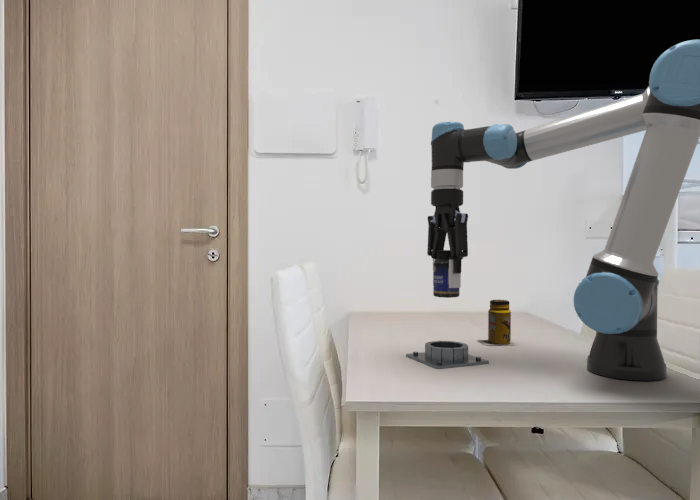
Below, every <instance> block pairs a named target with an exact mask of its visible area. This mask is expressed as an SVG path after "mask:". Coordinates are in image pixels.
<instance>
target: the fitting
mask: <svg viewBox="0 0 700 500" xmlns="http://www.w3.org/2000/svg"><path fill="white" fill-rule="evenodd" d="M405 356H406V358H409V359H412V360H413V361H417V362H420V363H422V364H424V365H426V366H429V367H431V368H434V369H437V370H439V369H440V370H441V369H448V368H458V367H469V366H479V365H487V364H490V361H489V360H487V359H484V358H482V357H480V356H475V355H471V354H469V345H468V344H467V343H464V342H460V341H451V340H432V341H431V340H430V341H428V342H425V343H424V351H423V352H418V351H413V352H412V353H406V354H405Z"/></svg>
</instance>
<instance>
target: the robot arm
mask: <svg viewBox="0 0 700 500" xmlns="http://www.w3.org/2000/svg"><path fill="white" fill-rule="evenodd" d="M648 80H649V81H648V86H647V88H646V89H645V90H644V92H643V93H641V94H637V95H634V96H631V97H628V98H624V99H622V100H618V101H615V102H612V103H608V104H604V105H601V106H597V107H595V108H592V109H589V110H586V111H583V112H579V113H576V114H572V115H570V116H567V117H562V118H560V119H557V120H554V121H550V122H546V123H544V124H541V125H538V126H534V127H532V128H528V129H525V130H522V131H521V130H520V131H517V132H516V131H515V130H514V127H513V126H512V125H511V124H507V123H506V124H492V125H487V126H481V127H475V128H468V129H464V127H465V126H464V124H463V123H461V122H459V121H443V122H438V123H436V124H434V125H433V126H432V130H431V141H430V146H431V149H430V150H431V170H430V172H431V173H430V175H431V176H430V187H431V188H432V189H433V190H431V192H430V204H431V206H432V207H435V209H434V214H433V215H428V216H427V223H428V224H427V225H428V227H427V228H428V231H427V233H428V234H427V250H426V251H427V256H430V257H431V259H432V286H433V287H434V262H435V261H436V260H437V259H438V256H437V250H445V244H446V239H447V241H448V246H449V250H450V252H451V257H449V259H453V260H449V288H459V289H460V288H461V286H462V285H461V282H462V281H461V280H462V278H461V277H462V275H461V273H462V260H463V258H465V257H468V255H469V248H468V245H469V243H468V219H469V213H463V212H461V210H460V207H461V206H463V204H464V190H463V189H462V188H463V187H464V164H465V163H472V162H473V163H475V162H487V163H491V164H495V165H498V166H501V167H503V168H506V169H510V170H511V169H512V170H513V169H520V168H523V167H524V166H526V164H527V163H530V162H532V161H536V160H540V159H544V158H547V157H548V158H549V157H551V156H555V155H558V154H559V155H560V154H562V153H567V152H571V151H574V150H577V149H581V148H585V147H589V146H593V145H596V144H599V143H604V142H607V141H611V140H615V139H619V138H622V137H626V136H630V135H634V134H637V133H640V132H645V133H644V135H643V138H642V141H641V143H640V147H639V149H638V153H637V156H636V158H635V161H634V164H633V166H632V170H631V173H630V176H629V178H628V180H627V184H626V186H625V190H624V193H623V195H622V197H621V198H622V199H621V201H620V205H619V206H618V208H617V209H618V210H617V213H616V214H615V215H616V216H615V219H614V221H613V224H612V226H611V227H612V228H611V230H610V233H609V234H608V235H609V236H608V239H607V241H606V244H605V247H604V249H603V250H602V251H600V252H598V253H595V254H593V256H592V258H591V261H590V264H589V267H588V269H587V271H586V272H587V273H586V275H585V277H583V279H582V280H581V281H580V282H579V283H578V285H577V286H576V289H575V290H574V293H573V307H574V308H573V309H574V310H575V314H576V315H577V317H578V319H579V320H580V321H581V322H582V323H583V324H584V325H585V326H586V327H587V328H589V329H591V330H593V331H595V337H594V339H593V342H592V344H591V347H590V351H589V355H587V359H586V369H587V370H588V371H589V372H591V373H593V374H596V375H600V376H602V377H608V378H613V379H620V380H625V381H642V382H643V381H647V382H648V381H659V380H663V379H664V380H665V379H666V378H667V376H668V375H667V370H668V369H667V364H666V362H665V359H664V355H663V353H662V349H661V347H660V343H659V341H658V286H659V283H660V282H659V281H660V280H659V278H658V277H659V275H660V274H659V272H658V271H657V269H656V267H655V265H654V261H655V259H656V255H657V253H658V250H659V247H660V246H661V242H662V239H663V237H664V234H665V232H666V228H667V226H668V223H669V221H670V218H671V216H672V213H673V210H674V208H675V204H676V203H677V202H676V201H677V199H678V196H679V193H680V191H681V189H682V187H683V184H684V180H685V177H686V175H687V172H688V169H689V166H690V164H691V161H692V159H693V156H694V153H695V151H696V148H697V146H698V143H699V140H700V39H691V40H690V39H689V40H686V41H681V42H679V43H677V44H675V45H673V46H670V47H669V48H668V49H666V50H665V51H664V52H662V53H661V54H660V55H659V57H657V59H656V60H655V62H654V63H653V66H652V68H651V71H650V74H649V79H648Z"/></svg>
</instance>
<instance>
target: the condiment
mask: <svg viewBox="0 0 700 500" xmlns="http://www.w3.org/2000/svg"><path fill="white" fill-rule="evenodd" d="M487 311H488V314H487V315H488V316H487V317H488V319H487V320H488V321H487V322H488V325H487V326H488V333H487V338H488V339H477V340H476V341H477V342H478V343H480V344H482V345H484V346H517V344H516V343H512V342H511V341H512V340H511V337H512V336H511V334H512V332H511V331H512V330H511V328H512V327H511V326H512V325H511V321H512V312H511V308H510V301H509V300H507V299H491V300H490V301H489V309H488V310H487Z"/></svg>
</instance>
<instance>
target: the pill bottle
mask: <svg viewBox="0 0 700 500" xmlns="http://www.w3.org/2000/svg"><path fill="white" fill-rule="evenodd" d="M437 256H438V259H437V260H436V261H435V262H434V286H433V293H432V294H433V296H434V297H436V298H448V299H449V298H458V297H459V296H460V288H449V260H453V259H449V257H451V252H450V249H444V250H437Z"/></svg>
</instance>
